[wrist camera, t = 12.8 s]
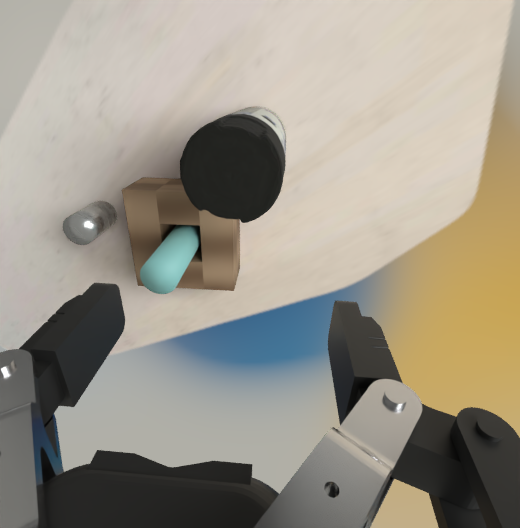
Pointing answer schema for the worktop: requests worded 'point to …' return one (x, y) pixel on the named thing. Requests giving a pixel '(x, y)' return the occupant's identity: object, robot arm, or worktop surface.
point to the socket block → (181, 213)
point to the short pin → (89, 222)
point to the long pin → (171, 259)
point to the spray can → (236, 164)
